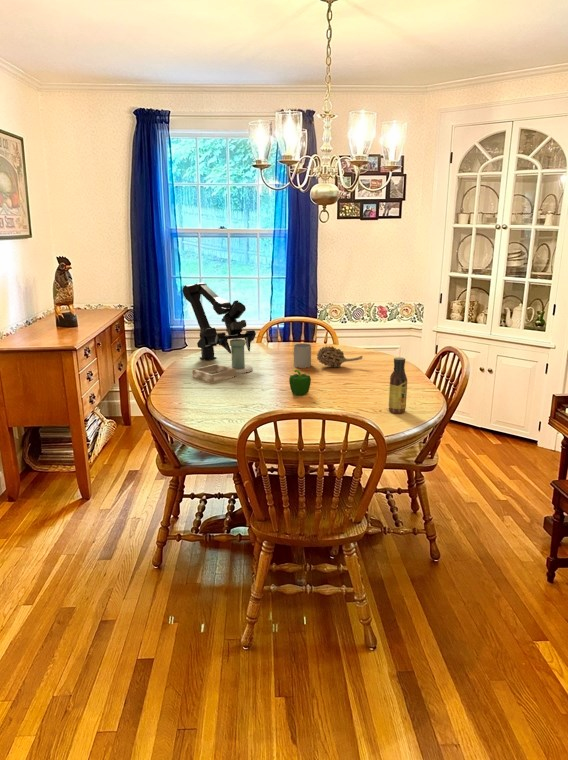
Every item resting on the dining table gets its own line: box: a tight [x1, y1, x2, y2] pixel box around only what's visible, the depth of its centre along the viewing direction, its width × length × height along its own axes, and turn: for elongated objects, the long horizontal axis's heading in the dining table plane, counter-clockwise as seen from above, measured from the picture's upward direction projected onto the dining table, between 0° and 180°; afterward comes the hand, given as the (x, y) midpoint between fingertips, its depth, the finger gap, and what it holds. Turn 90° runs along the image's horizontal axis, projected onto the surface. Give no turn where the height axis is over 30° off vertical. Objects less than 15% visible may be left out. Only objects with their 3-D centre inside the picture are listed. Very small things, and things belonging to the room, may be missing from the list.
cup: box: [293, 343, 312, 369], centre depth 269 cm, size 8×8×10 cm
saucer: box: [228, 364, 254, 374], centre depth 263 cm, size 12×12×1 cm
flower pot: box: [229, 338, 246, 370], centre depth 261 cm, size 7×7×13 cm
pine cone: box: [316, 346, 364, 368], centre depth 265 cm, size 22×10×10 cm, turn 85°
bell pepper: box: [288, 369, 312, 397], centre depth 225 cm, size 8×8×10 cm
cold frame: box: [191, 363, 238, 384], centre depth 252 cm, size 14×14×4 cm
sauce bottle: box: [388, 356, 408, 414], centre depth 203 cm, size 6×6×20 cm
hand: (240, 352), depth 259 cm, fingers open, 9 cm apart
